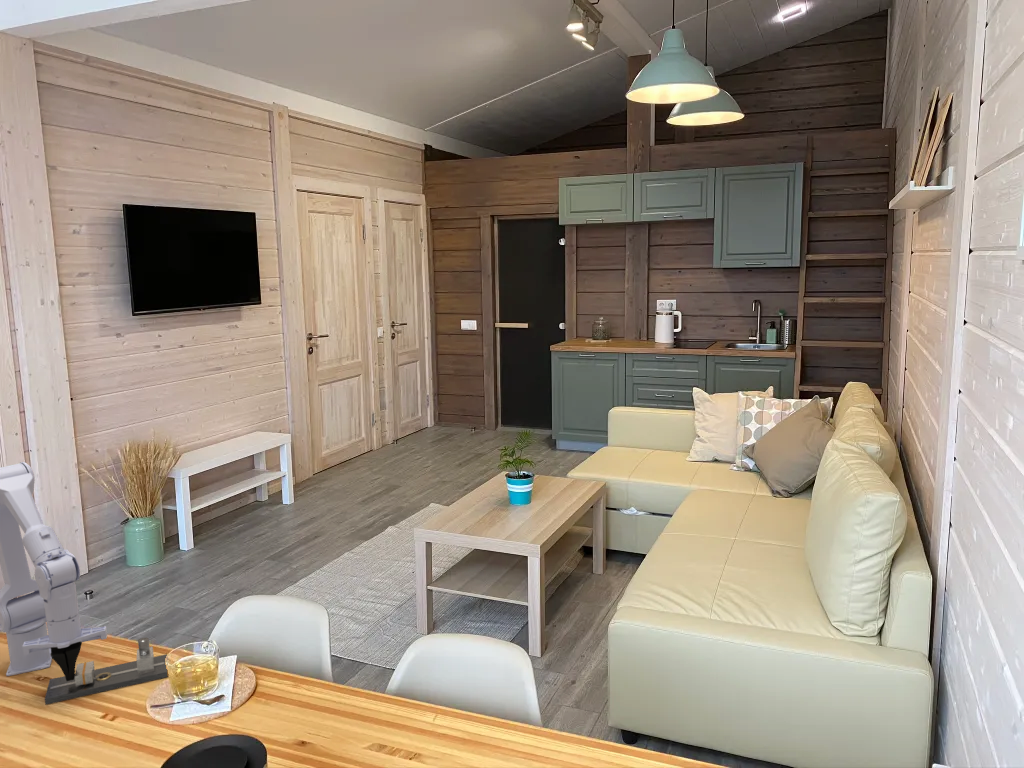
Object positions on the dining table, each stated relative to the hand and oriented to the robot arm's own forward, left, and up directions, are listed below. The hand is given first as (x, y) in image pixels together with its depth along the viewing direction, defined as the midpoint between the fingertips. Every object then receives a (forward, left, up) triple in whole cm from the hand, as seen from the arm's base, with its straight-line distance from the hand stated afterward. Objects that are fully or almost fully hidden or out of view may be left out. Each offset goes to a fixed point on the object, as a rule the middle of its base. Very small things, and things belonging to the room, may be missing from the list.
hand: (70, 678), depth 155 cm
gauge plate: (0, +7, -2) cm, 7 cm away
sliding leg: (0, +3, -1) cm, 3 cm away
